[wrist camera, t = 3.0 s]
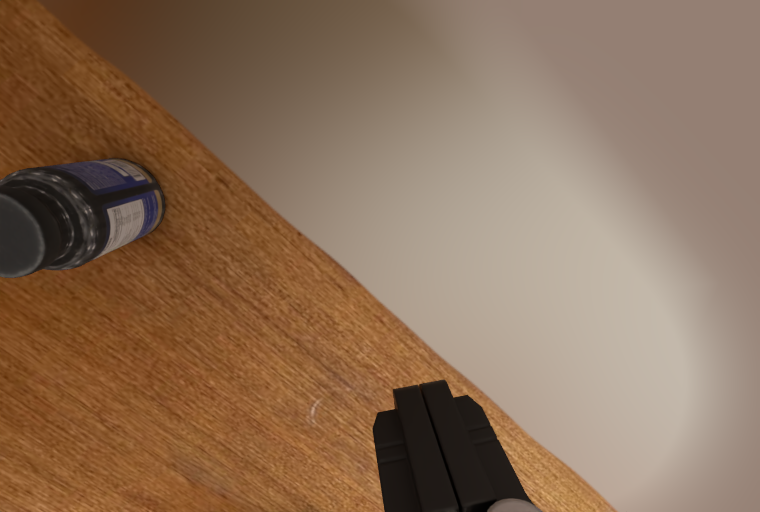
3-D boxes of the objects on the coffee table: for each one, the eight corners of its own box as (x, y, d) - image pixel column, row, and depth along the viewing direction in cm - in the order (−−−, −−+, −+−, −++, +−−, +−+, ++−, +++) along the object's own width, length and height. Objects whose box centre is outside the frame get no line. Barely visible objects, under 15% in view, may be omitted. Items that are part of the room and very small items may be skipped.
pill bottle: (71, 179, 30) (-97, 205, 19) (137, 143, 29) (-1, 151, 18) (120, 249, 32) (-9, 308, 21) (184, 217, 31) (82, 262, 20)
